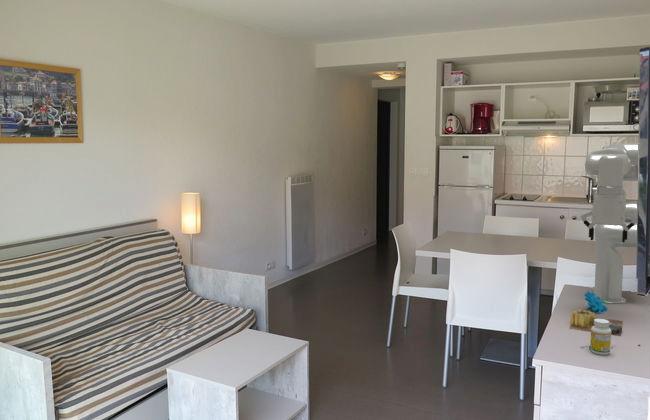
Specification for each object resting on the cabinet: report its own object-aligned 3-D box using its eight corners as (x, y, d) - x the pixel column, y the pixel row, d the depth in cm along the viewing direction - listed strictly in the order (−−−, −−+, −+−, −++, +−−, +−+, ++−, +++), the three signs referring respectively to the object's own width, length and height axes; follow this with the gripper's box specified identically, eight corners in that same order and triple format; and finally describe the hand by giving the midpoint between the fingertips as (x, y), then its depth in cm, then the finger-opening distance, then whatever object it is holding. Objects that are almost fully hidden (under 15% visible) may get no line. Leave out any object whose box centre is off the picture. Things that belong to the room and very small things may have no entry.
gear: (599, 314, 188) (582, 290, 193) (586, 323, 191) (570, 299, 197) (615, 313, 194) (598, 289, 199) (602, 321, 198) (586, 298, 203)
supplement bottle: (607, 356, 155) (609, 324, 154) (587, 352, 158) (589, 321, 157) (612, 351, 159) (613, 320, 158) (592, 347, 162) (594, 316, 161)
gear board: (574, 317, 190) (575, 304, 189) (623, 324, 182) (623, 310, 182) (569, 332, 176) (569, 318, 175) (621, 339, 168) (621, 325, 167)
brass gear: (566, 321, 183) (567, 309, 182) (587, 320, 183) (588, 309, 183) (577, 328, 175) (577, 316, 175) (599, 327, 176) (599, 316, 175)
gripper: (580, 191, 183) (578, 240, 185) (639, 193, 174) (636, 244, 176) (583, 189, 189) (581, 237, 191) (639, 191, 180) (636, 241, 182)
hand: (607, 240), depth 184 cm, fingers open, 9 cm apart
